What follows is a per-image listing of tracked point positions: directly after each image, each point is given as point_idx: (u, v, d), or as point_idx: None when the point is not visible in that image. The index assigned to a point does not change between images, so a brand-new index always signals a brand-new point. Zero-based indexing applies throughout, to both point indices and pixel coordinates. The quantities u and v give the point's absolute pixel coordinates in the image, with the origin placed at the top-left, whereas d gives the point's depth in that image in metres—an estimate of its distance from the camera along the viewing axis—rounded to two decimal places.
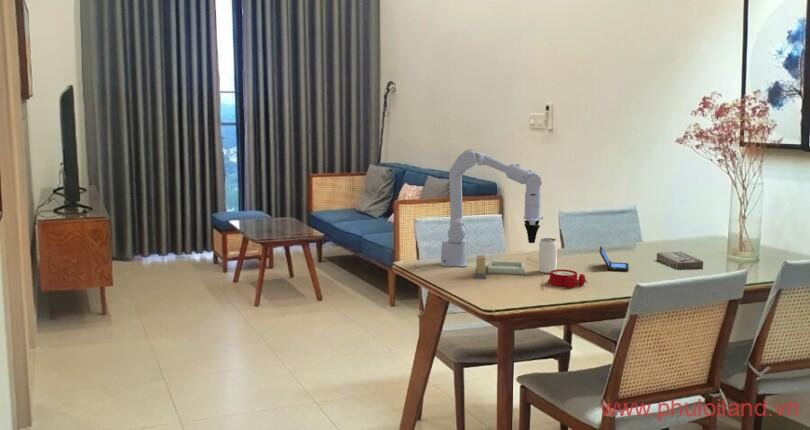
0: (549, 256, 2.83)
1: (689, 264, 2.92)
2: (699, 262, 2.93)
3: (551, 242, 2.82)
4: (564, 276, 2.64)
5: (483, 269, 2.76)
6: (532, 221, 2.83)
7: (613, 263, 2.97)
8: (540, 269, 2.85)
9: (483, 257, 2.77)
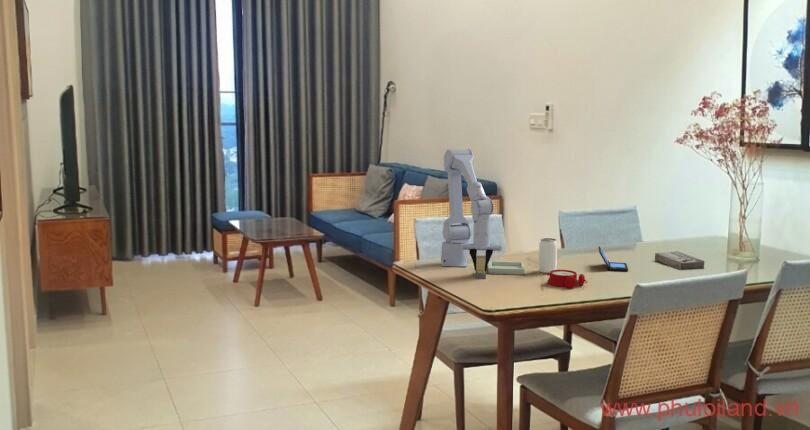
0: (549, 256, 2.83)
1: (692, 264, 2.92)
2: (701, 262, 2.94)
3: (551, 242, 2.82)
4: (564, 276, 2.63)
5: (483, 269, 2.76)
6: (461, 246, 2.79)
7: (612, 263, 2.97)
8: (540, 269, 2.85)
9: (483, 257, 2.77)
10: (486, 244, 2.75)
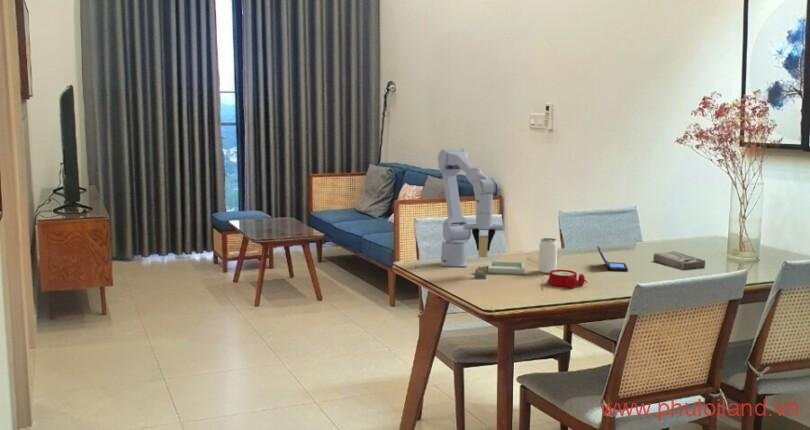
0: (549, 256, 2.83)
1: (694, 264, 2.93)
2: (702, 261, 2.94)
3: (551, 242, 2.82)
4: (564, 276, 2.63)
5: (485, 249, 2.76)
6: None
7: (611, 263, 2.97)
8: (540, 269, 2.85)
9: (486, 237, 2.76)
10: (489, 224, 2.75)
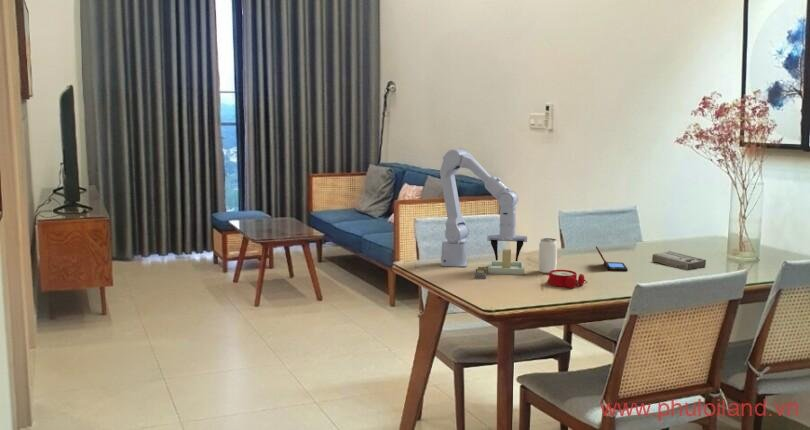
0: (549, 256, 2.83)
1: (696, 263, 2.93)
2: (703, 261, 2.95)
3: (551, 242, 2.82)
4: (564, 276, 2.63)
5: (509, 262, 2.85)
6: (487, 237, 2.87)
7: (609, 263, 2.97)
8: (540, 269, 2.85)
9: (509, 251, 2.85)
10: (512, 235, 2.84)
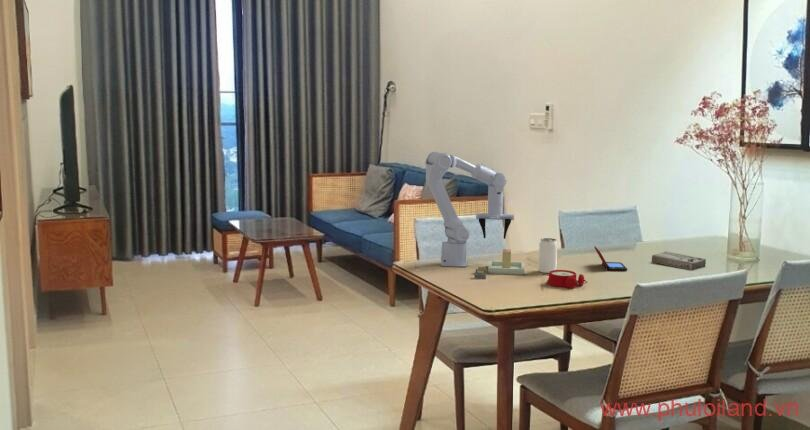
0: (549, 256, 2.83)
1: (698, 263, 2.94)
2: (703, 260, 2.96)
3: (551, 242, 2.82)
4: (564, 276, 2.63)
5: (509, 262, 2.85)
6: (476, 215, 3.01)
7: (608, 263, 2.97)
8: (540, 269, 2.85)
9: (509, 251, 2.85)
10: (500, 213, 2.98)
